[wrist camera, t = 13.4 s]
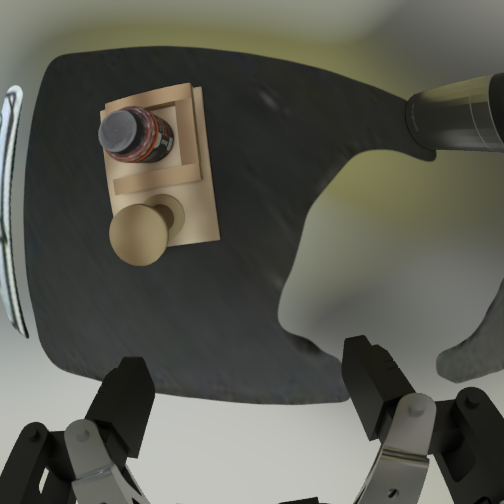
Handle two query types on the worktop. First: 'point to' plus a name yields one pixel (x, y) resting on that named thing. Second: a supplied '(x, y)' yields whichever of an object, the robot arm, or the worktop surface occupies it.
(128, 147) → the supplement bottle
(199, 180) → the notched board
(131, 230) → the bobbin post
